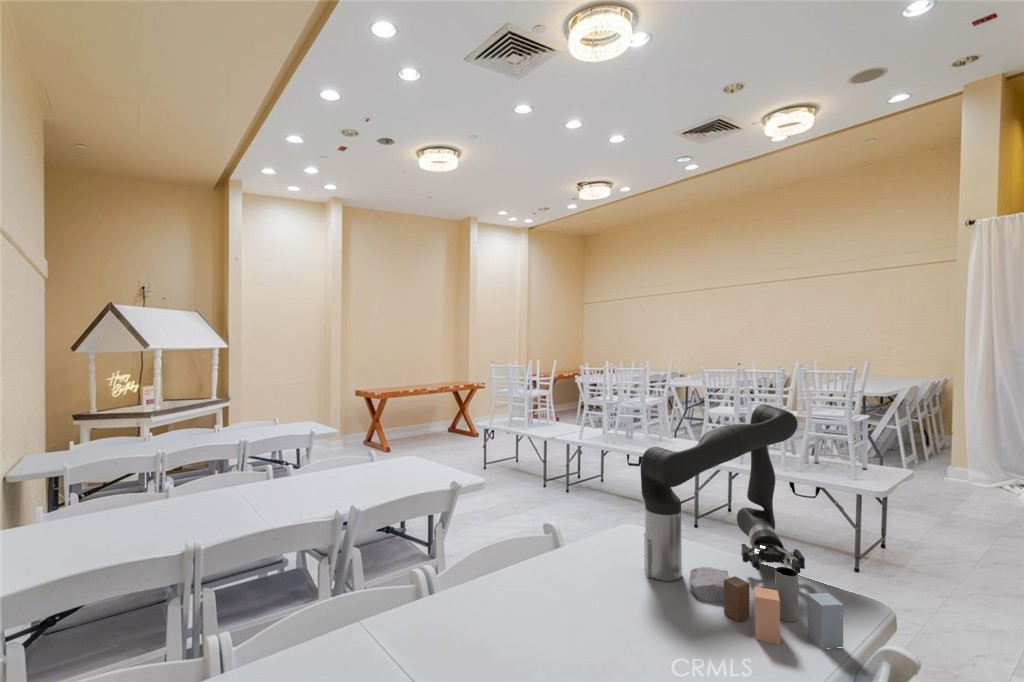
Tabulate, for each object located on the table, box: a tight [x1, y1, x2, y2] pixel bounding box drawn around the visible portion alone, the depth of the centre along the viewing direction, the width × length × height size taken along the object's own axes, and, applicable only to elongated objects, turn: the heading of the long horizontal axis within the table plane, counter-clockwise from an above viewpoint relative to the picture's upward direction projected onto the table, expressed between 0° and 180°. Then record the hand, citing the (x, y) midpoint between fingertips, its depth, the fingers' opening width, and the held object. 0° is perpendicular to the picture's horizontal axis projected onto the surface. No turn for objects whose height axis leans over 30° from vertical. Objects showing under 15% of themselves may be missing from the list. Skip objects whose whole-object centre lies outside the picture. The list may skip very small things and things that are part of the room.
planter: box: [774, 566, 799, 623], centre depth 113 cm, size 4×4×10 cm
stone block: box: [688, 566, 730, 603], centre depth 126 cm, size 12×5×10 cm
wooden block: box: [723, 576, 751, 623], centre depth 114 cm, size 4×4×8 cm
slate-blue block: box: [806, 592, 844, 650], centre depth 104 cm, size 4×4×9 cm
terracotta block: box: [753, 586, 781, 645], centre depth 106 cm, size 4×4×9 cm
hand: (777, 568), depth 123 cm, fingers open, 8 cm apart
